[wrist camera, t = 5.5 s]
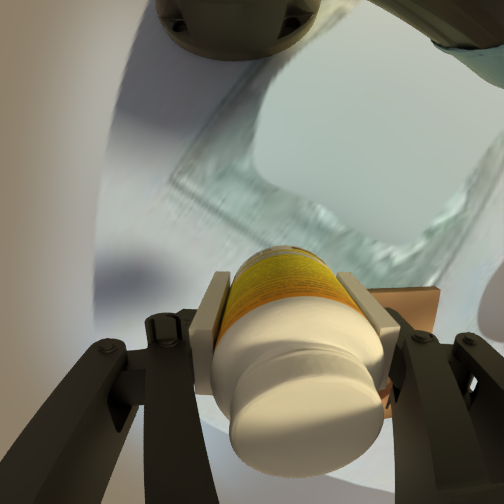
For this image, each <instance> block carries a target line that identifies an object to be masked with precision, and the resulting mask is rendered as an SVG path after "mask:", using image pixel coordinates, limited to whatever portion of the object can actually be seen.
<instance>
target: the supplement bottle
mask: <svg viewBox="0 0 504 504" xmlns="http://www.w3.org/2000/svg"><path fill="white" fill-rule="evenodd" d="M384 363H385V360H384V352H383V347H382V345H381V342H380V339H379V337H378V335H377V334H376V332H375V330H374V329H373V327H372V326H371V324H370V323H369V321H368V320H367V319H366V317H365V316H364V314H363V313H362V312H361V310H360V309H359V308H358V306H357V305H356V304H355V302H354V301H353V300H352V298H351V297H350V296H349V294H348V293H347V291H346V290H345V289H344V287H343V286H342V285H341V283H340V282H339V281H338V279H337V278H336V277H335V276H334V274H333V273H332V272H331V270H330V269H329V268H328V266H327V265H326V264H325V263H324V262H323V261H322V260H321V259H320V258H319V257H318V256H316V255H315V254H313V253H311V252H310V251H307V250H305V249H302V248H299V247H295V246H286V245H285V246H274V247H270V248H267V249H264V250H262V251H260V252H258V253H256V254H254V255H253V256H251V257H250V258H249V259H248V260H247V261H246V262H245V263H244V264H243V265H242V266H241V267H240V269H239V270H238V272H237V273H236V275H235V277H234V280H233V282H232V285H231V288H230V292H229V296H228V300H227V304H226V307H225V311H224V315H223V318H222V323H221V327H220V331H219V335H218V338H217V342H216V345H215V350H214V353H213V358H212V364H211V371H210V384H211V389H212V393H213V396H214V399H215V401H216V403H217V405H218V407H219V408H220V410H221V411H222V413H223V414H224V415H225V416H226V417H227V419H228V420H229V421H230V426H229V436H230V442H231V445H232V448H233V450H234V451H235V453H236V455H237V456H238V457H239V458H240V459H241V460H242V461H243V462H244V463H245V464H247V465H248V466H250V467H251V468H253V469H255V470H257V471H260V472H262V473H265V474H268V475H272V476H277V477H283V478H305V477H312V476H318V475H322V474H326V473H329V472H332V471H335V470H337V469H339V468H342V467H344V466H346V465H348V464H349V463H351V462H353V461H354V460H356V459H357V458H359V457H360V456H361V455H362V454H364V453H365V452H366V451H367V450H368V449H369V448H370V447H371V445H372V444H373V443H374V441H375V440H376V439H377V437H378V435H379V433H380V431H381V428H382V426H383V422H384V409H383V404H382V401H381V399H380V397H379V394H378V390H379V388H380V386H381V383H382V379H383V374H384Z"/></svg>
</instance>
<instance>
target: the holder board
mask: <svg viewBox="0 0 504 504" xmlns="http://www.w3.org/2000/svg"><path fill="white" fill-rule="evenodd" d="M367 290H368V291H369V293H370V294H371V295H372V296H373V297H374V298H375V299H376V300H377V301H378V302H379V303H380V304H381V306H382V307H383V308H386V307H389V308H391V309H393V310H395V311H397V312H398V313H399V314H400V315H401V316H402V318H404V319H405V320H406V322H408V323H409V324H410V325H411V326H412V327H413V328H414V329H415V330H422V331H427V332H430V333H432V331H433V326H434V322H435V317H436V312H437V307H438V302H439V297H440V291H441V290H440V289H438V288H437V287H435V286H431V287H408V288H379V289H367ZM392 384H393V383H392V381H391V379H390V378H389V377H388V381H387V385H386V388H385V389H383V390H378V394H379V397H380V399H381V401H382V404H383V409H384V419H386V418H392V410H391V404H390V405H389V407H388V409H385V408H386V404H387V401H388V397H389V394H390V391H391V387H392Z"/></svg>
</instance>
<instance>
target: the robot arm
mask: <svg viewBox="0 0 504 504" xmlns="http://www.w3.org/2000/svg"><path fill="white" fill-rule="evenodd" d="M368 1H370V2H372V3H373V4H375V5H377V6H379V7H381V8H383V9H385V10H386V11H388V12H390V13H391V14H393V15H395V16H396V17H398V18H400V19H402V20H403V21H405V22H406V23H408V24H409V25H411V26H412V27H414V28H416V29H417V30H419V31H420V32H422V33H423V34H425V35H426V36H427V37H429V38H430V39H431V41H432V42H433V44H434V46H435V47H437V48H438V49H439V50H441V51H443V52H445V53H447V54H450V55H453V56H454V57H455V58H457V59H458V60H459V61H461V62H462V63H463V64H465V65H466V66H467V67H468V68H470V69H471V70H472V71H474V72H475V73H476V74H477V75H478V76H480V77H481V78H482V79H484V80H485V81H487V82H489V83H490V84H492V85H494V86H497V87H500V88H503V89H504V0H368ZM320 2H321V0H156V10H157V14H158V17H159V19H160V21H161V23H162V25H163V26H164V28H165V29H166V31H167V33H168V34H169V35H170V37H171V38H172V39H173V40H174V41H175V42H176V43H177V44H179V45H180V46H181V47H183V48H184V49H186V50H188V51H190V52H192V53H194V54H197V55H199V56H203V57H206V58H210V59H216V60H223V61H245V60H253V59H258V58H263V57H267V56H270V55H273V54H276V53H278V52H281V51H283V50H285V49H287V48H289V47H290V46H292V45H293V44H295V43H296V42H298V41H299V40H300V39H301V38H302V37H303V36H304V35H305V34H306V33H307V32H308V31H309V30H310V28H311V27H312V25H313V23H314V21H315V18H316V16H317V13H318V10H319V7H320ZM336 278H337V279H338V281H339V282H340V283H341V285H342V286H343V287H344V289H345V290H346V291H347V293H348V294H349V296H350V297H351V298H352V300H353V301H354V302H355V304H356V305H357V306H358V308H359V309H360V310H361V312H362V313H363V314H364V316H365V317H366V319H367V320H368V321H369V323H370V324H371V326H372V327H373V329H374V330H375V332H376V334H377V335H378V337H379V339H380V342H381V345H382V347H383V352H384V360H385V363H384V374H383V379H382V383H381V386H380V388H379V390H383V389H385V388H386V385H387V381H388V377H389V378H390V379H391V381H392V383H393V384H392V387H391V391H390V394H389V397H388V401H387V404H386V408H385V409H388V407H389V405H390V404H391V410H392V422H393V437H394V457H395V504H504V357H503V356H502V355H500V354H499V353H498V352H497V351H496V350H495V349H494V348H493V347H492V346H491V345H489V344H488V343H487V342H486V341H485V340H484V339H483V338H481V337H480V336H478V335H475V334H474V333H470V332H467V333H460V334H458V335H456V337H455V341H454V344H440V343H439V341H438V339H437V338H436V336H435V335H433V334H432V333H430V332H427V331H422V330H415V329H414V328H413V327H412V326H411V325H410V324H409V323H408V322H406V320H405V319H404V318H402V316H401V315H400V314H399V313H398V312H397V311H395V310H393V309H391V308H389V307H386V308H383V307H382V306H381V304H380V303H379V302H378V301H377V300H376V299H375V298H374V297H373V296H372V295H371V294H370V293H369V291H368V290H367V289H366V288H365V287H364V286H363V285H362V284H361V283H360V282H359V281H358V280H357V279H356V278H355V277H354V276H353V274H352V273H351V272H337V276H336ZM229 292H230V272H215V274H214V276H213V278H212V280H211V282H210V284H209V287H208V289H207V291H206V293H205V295H204V297H203V299H202V302H201V304H200V306H199V308H198V309H182V310H181V311H179V312H177V313H158V314H154V315H151V316H150V317H148V318H146V320H145V328H146V335H147V341H148V348H146V349H141V350H130V351H127V350H126V345H125V343H124V342H123V341H121V340H118V339H110V338H106V339H101V340H99V341H97V342H95V343H93V344H92V345H91V346H90V347H89V348H88V349H87V351H86V352H85V353H84V354H83V355H82V357H81V358H80V359H79V360H78V361H77V363H76V364H75V365H74V366H73V367H72V369H71V370H70V371H69V372H68V374H67V375H66V376H65V377H64V378H63V380H62V381H61V382H60V383H59V385H58V386H57V387H56V388H55V390H54V391H53V392H52V393H51V395H50V396H49V397H48V398H47V400H46V401H45V402H44V404H43V405H42V406H41V407H40V409H39V410H38V411H37V413H36V414H35V415H34V417H33V418H32V419H31V420H30V422H29V423H28V424H27V426H26V427H25V428H24V430H23V431H22V433H21V434H20V435H19V437H18V438H17V439H16V441H15V442H14V443H13V445H12V446H11V448H10V449H9V450H8V452H7V453H6V455H5V456H4V458H3V459H2V460H1V462H0V504H101V501H102V498H103V496H104V493H105V490H106V488H107V485H108V483H109V480H110V477H111V475H112V472H113V470H114V467H115V465H116V462H117V460H118V457H119V454H120V452H121V450H122V447H123V445H124V442H125V440H126V437H127V434H128V432H129V430H130V428H131V425H132V423H133V420H134V418H135V416H136V413H137V411H138V408H139V405H144V487H145V488H144V489H145V504H219V501H218V496H217V493H216V489H215V485H214V481H213V477H212V473H211V469H210V464H209V460H208V456H207V451H206V447H205V442H204V437H203V433H202V428H201V423H200V418H199V413H198V408H197V402H196V397H195V394H200V395H213V393H212V389H211V384H210V371H211V364H212V358H213V353H214V350H215V345H216V342H217V338H218V335H219V331H220V327H221V323H222V318H223V315H224V311H225V307H226V304H227V300H228V296H229ZM474 377H475V378H476V379H477V381H478V382H477V385H476V387H475V389H474V391H472V390H471V389H470V385H471V383H472V380H473V378H474ZM194 386H195V391H194Z"/></svg>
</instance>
